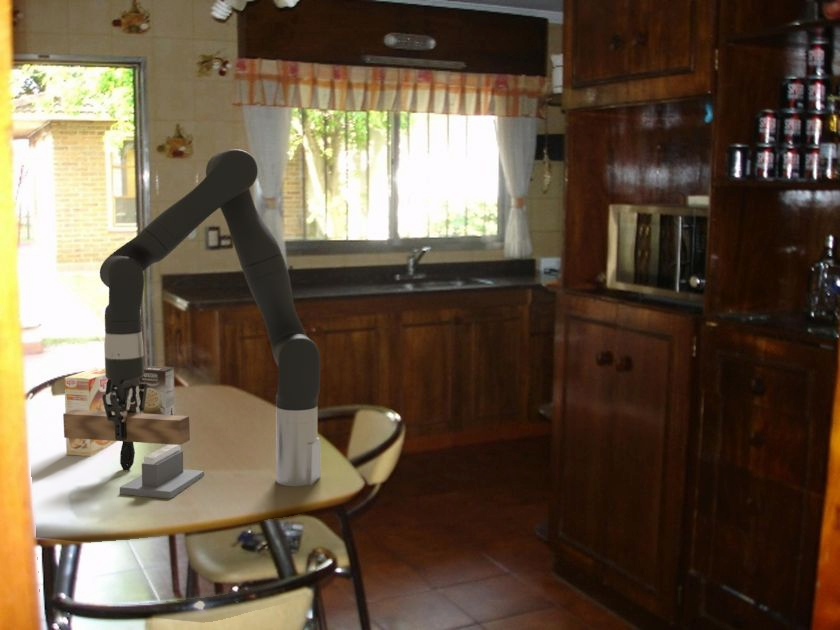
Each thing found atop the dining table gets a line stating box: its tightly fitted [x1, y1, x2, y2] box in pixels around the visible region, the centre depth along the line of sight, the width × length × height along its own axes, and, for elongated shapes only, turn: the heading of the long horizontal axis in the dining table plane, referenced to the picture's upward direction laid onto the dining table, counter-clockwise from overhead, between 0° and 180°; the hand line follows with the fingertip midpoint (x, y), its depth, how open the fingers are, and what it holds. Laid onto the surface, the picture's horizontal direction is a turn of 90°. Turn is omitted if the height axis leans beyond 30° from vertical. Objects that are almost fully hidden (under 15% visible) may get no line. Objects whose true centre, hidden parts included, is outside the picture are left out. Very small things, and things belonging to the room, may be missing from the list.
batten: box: [62, 410, 191, 446], centre depth 191 cm, size 26×4×5 cm, turn 77°
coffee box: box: [139, 365, 175, 415], centre depth 264 cm, size 9×6×16 cm
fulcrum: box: [119, 444, 205, 499], centre depth 207 cm, size 12×16×8 cm
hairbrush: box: [105, 379, 140, 471], centre depth 218 cm, size 8×4×25 cm, turn 81°
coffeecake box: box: [64, 367, 118, 457], centre depth 237 cm, size 15×7×20 cm, turn 170°
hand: (127, 436), depth 192 cm, fingers closed on batten, 4 cm apart
